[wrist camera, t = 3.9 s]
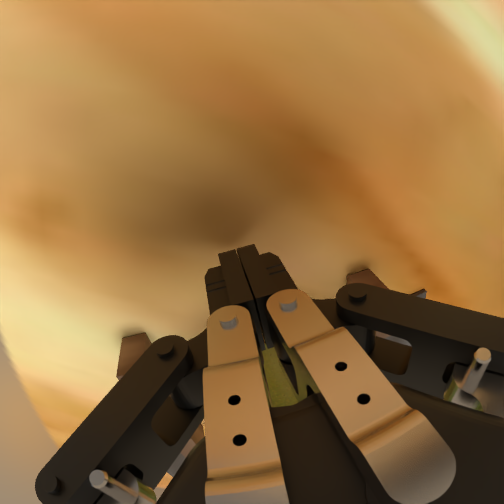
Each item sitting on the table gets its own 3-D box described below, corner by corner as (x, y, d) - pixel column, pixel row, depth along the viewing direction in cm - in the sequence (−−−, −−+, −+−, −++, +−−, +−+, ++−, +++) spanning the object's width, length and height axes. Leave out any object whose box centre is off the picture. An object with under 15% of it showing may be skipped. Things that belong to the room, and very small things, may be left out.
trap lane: (429, 247, 18) (469, 277, 14) (387, 430, 30) (401, 454, 27) (56, 351, 16) (41, 400, 12) (191, 489, 28) (195, 516, 25)
